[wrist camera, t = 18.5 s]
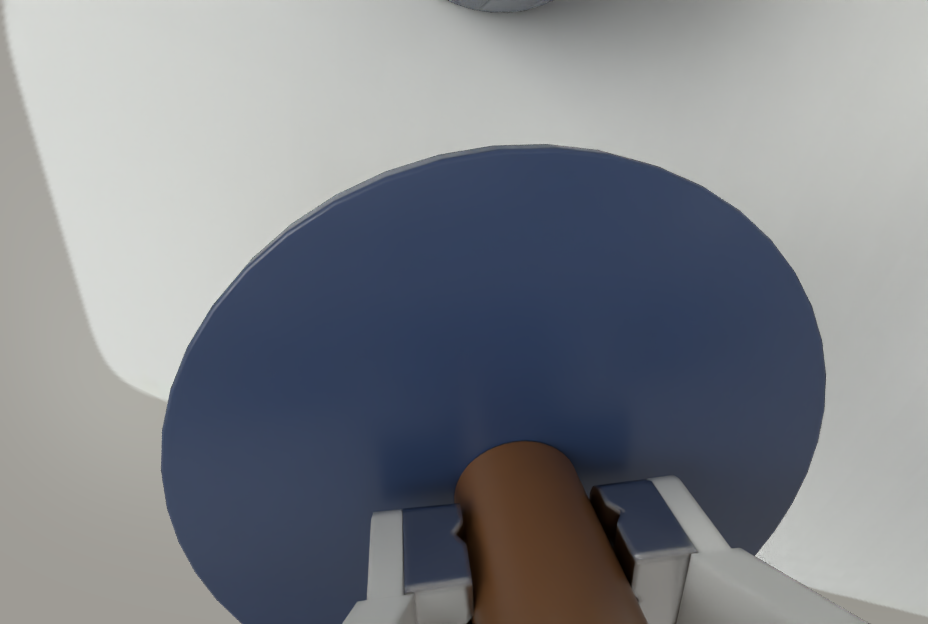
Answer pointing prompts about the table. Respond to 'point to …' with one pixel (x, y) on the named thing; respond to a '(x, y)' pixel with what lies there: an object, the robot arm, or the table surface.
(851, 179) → the table surface
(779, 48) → the table surface
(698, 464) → the tin lid
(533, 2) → the tin
